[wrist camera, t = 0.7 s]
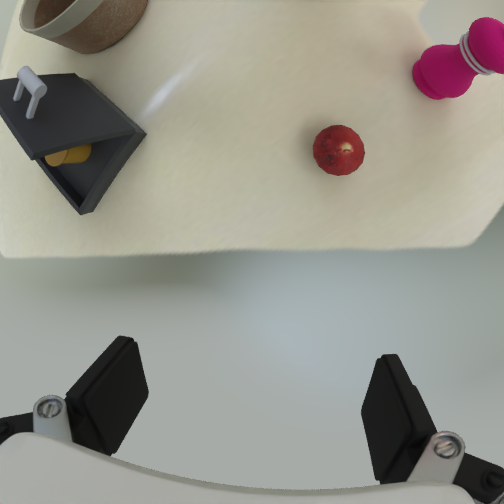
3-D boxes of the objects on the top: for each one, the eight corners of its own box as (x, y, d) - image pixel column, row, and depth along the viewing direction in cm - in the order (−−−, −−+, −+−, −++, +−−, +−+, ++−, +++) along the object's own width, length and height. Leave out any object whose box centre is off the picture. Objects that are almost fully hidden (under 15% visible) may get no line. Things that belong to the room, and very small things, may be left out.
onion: (324, 183, 35) (335, 186, 27) (301, 142, 34) (306, 134, 26) (363, 162, 34) (383, 161, 26) (341, 122, 33) (356, 110, 25)
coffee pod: (69, 135, 36) (43, 134, 30) (93, 129, 35) (67, 126, 30) (70, 166, 37) (44, 169, 31) (93, 162, 37) (68, 163, 31)
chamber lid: (31, 161, 19) (45, 115, 17) (-17, 88, 17) (-5, 51, 15) (132, 134, 32) (151, 103, 30) (72, 77, 31) (86, 49, 28)
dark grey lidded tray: (93, 211, 40) (80, 215, 36) (43, 153, 38) (30, 153, 35) (147, 134, 36) (136, 131, 32) (87, 80, 34) (75, 75, 31)
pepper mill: (426, 48, 28) (502, -9, 8) (459, 86, 28) (549, 54, 9) (399, 72, 30) (478, 12, 10) (435, 112, 30) (532, 85, 11)
